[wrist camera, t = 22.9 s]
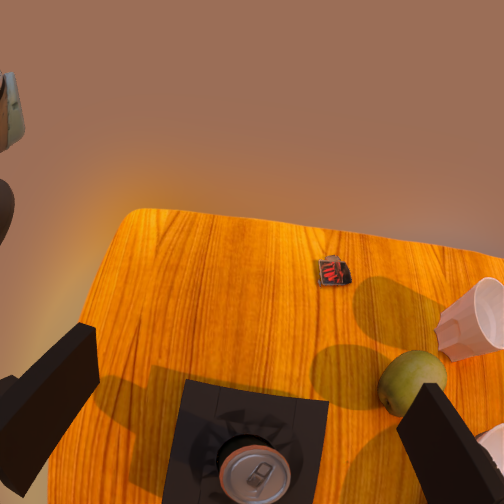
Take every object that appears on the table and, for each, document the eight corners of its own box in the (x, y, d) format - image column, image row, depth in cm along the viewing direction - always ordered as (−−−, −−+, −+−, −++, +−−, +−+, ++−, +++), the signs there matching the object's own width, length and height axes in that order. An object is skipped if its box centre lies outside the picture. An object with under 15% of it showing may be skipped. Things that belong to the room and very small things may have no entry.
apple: (430, 391, 33) (468, 381, 26) (382, 430, 30) (420, 429, 23) (406, 345, 36) (441, 327, 29) (356, 381, 33) (389, 370, 26)
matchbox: (354, 282, 40) (355, 281, 39) (321, 292, 39) (322, 290, 38) (341, 253, 42) (342, 252, 41) (309, 261, 41) (309, 259, 40)
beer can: (236, 425, 29) (247, 433, 19) (277, 450, 28) (307, 467, 18) (208, 461, 27) (204, 486, 16) (249, 486, 26) (266, 520, 15)
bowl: (415, 559, 18) (448, 574, 11) (398, 466, 27) (438, 471, 20) (498, 494, 22) (533, 494, 15) (486, 407, 31) (524, 398, 24)
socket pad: (165, 500, 23) (160, 508, 20) (188, 382, 31) (185, 378, 28) (298, 517, 24) (307, 526, 21) (318, 402, 31) (329, 401, 28)
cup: (480, 328, 38) (521, 305, 29) (462, 379, 34) (509, 363, 25) (442, 293, 41) (482, 263, 32) (420, 343, 36) (466, 319, 28)
